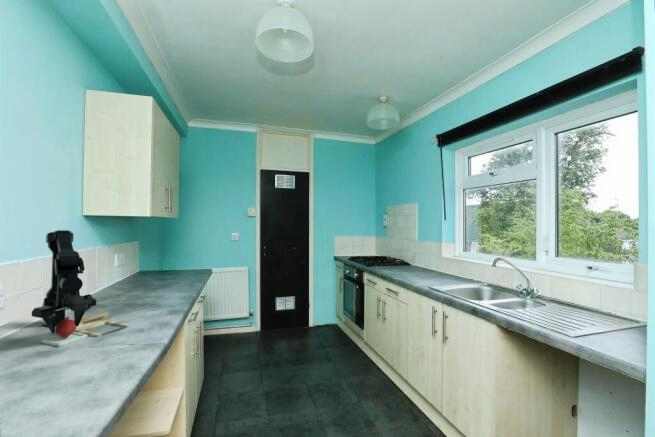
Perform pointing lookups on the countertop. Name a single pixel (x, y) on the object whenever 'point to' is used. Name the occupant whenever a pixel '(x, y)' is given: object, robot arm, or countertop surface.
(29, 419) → the countertop surface
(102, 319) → the open rectangular frame
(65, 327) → the onion
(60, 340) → the tray
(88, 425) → the countertop surface
